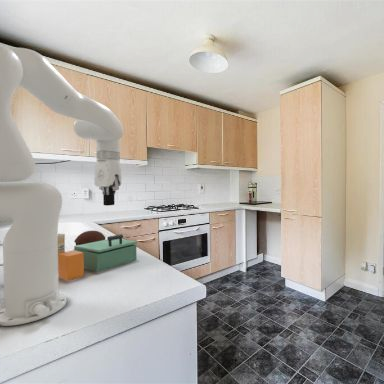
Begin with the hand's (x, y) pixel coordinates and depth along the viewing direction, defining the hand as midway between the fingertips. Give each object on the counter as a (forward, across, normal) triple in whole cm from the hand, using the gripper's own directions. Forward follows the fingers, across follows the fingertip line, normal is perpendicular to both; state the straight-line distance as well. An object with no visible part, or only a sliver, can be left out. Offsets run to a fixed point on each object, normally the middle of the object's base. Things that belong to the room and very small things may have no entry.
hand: (109, 205), depth 88 cm
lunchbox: (+23, -2, 0) cm, 23 cm away
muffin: (+23, -21, +4) cm, 32 cm away
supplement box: (+23, -10, -15) cm, 30 cm away
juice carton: (+23, +2, -14) cm, 27 cm away
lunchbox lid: (+16, -2, 0) cm, 16 cm away
